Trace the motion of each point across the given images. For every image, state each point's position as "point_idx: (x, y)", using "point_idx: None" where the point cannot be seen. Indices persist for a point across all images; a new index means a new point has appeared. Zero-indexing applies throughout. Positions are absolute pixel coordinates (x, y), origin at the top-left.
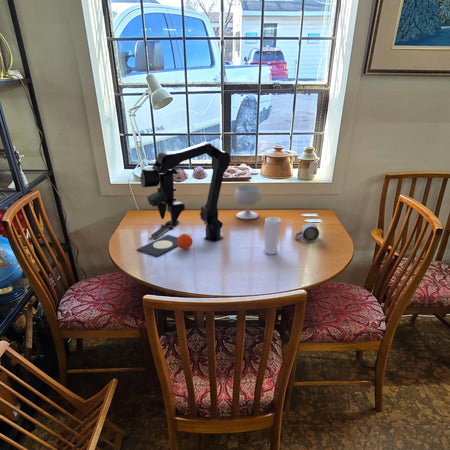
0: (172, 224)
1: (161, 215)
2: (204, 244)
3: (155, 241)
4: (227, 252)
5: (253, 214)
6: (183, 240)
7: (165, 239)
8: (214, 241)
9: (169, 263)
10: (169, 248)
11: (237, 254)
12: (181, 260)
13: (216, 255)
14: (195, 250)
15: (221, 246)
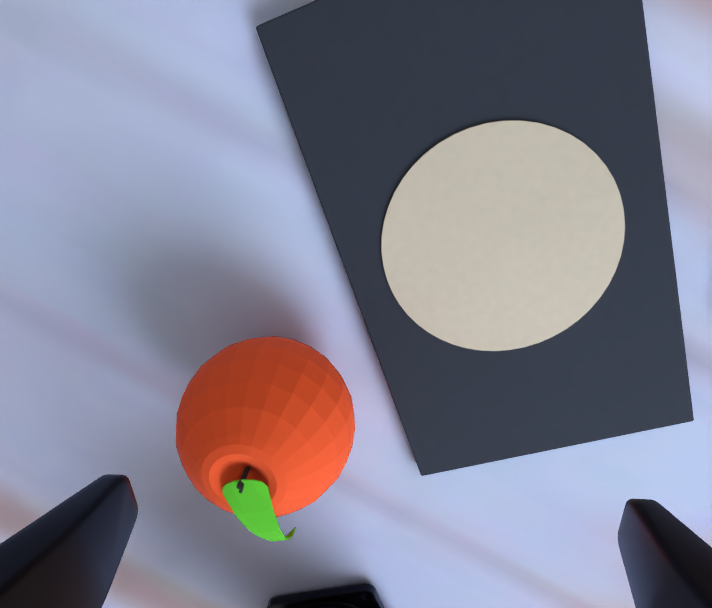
0: (94, 481)
1: (677, 584)
2: None
3: (647, 219)
4: None
5: None
6: (188, 405)
7: (602, 338)
8: (271, 600)
9: (44, 74)
10: (354, 252)
11: None
12: (63, 216)
13: (42, 481)
14: None
15: (173, 584)
